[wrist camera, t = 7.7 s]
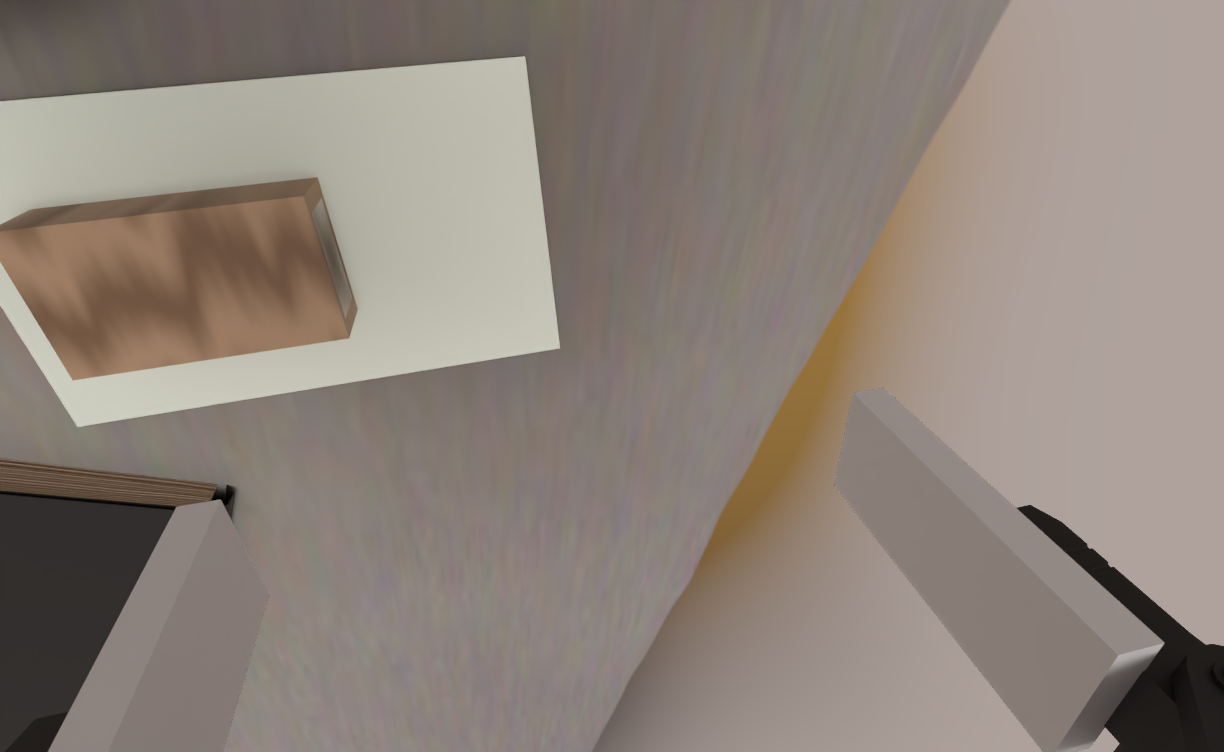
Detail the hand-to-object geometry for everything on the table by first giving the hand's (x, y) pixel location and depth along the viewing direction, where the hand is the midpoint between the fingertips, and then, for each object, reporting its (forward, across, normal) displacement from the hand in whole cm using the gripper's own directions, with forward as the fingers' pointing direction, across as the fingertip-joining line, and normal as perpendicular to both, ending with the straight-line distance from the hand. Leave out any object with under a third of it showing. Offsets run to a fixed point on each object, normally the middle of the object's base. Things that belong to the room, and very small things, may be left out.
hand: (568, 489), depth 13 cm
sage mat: (+28, -12, -3) cm, 30 cm away
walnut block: (+25, -9, -3) cm, 27 cm away
